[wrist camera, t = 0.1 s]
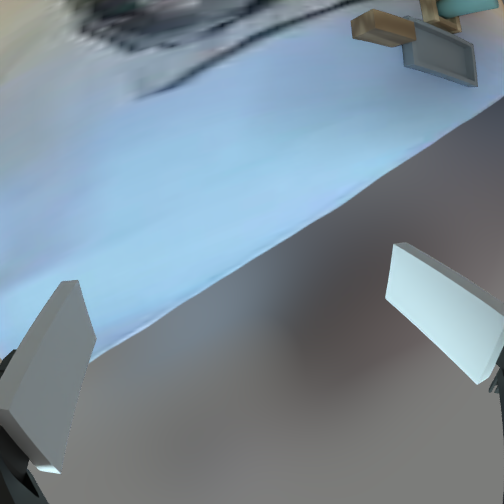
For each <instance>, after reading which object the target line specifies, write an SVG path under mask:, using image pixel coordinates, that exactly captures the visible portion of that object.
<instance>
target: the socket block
mask: <svg viewBox="0 0 504 504" xmlns="http://www.w3.org/2000/svg"><path fill="white" fill-rule="evenodd" d="M437 1H440V0H420V5H421V10H422V15H423V21H424V22H426V23H428V24H431V25H433V26H435V27H438V28H440V29H442V30H445V31H447V32H449V33H451V34H454V33H459V32H462V31H461V25H460V20H459V16H457V17H453V18H449V19H444V18H442V17H440V16H439V15H438V10H437V5H436V2H437Z"/></svg>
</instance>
